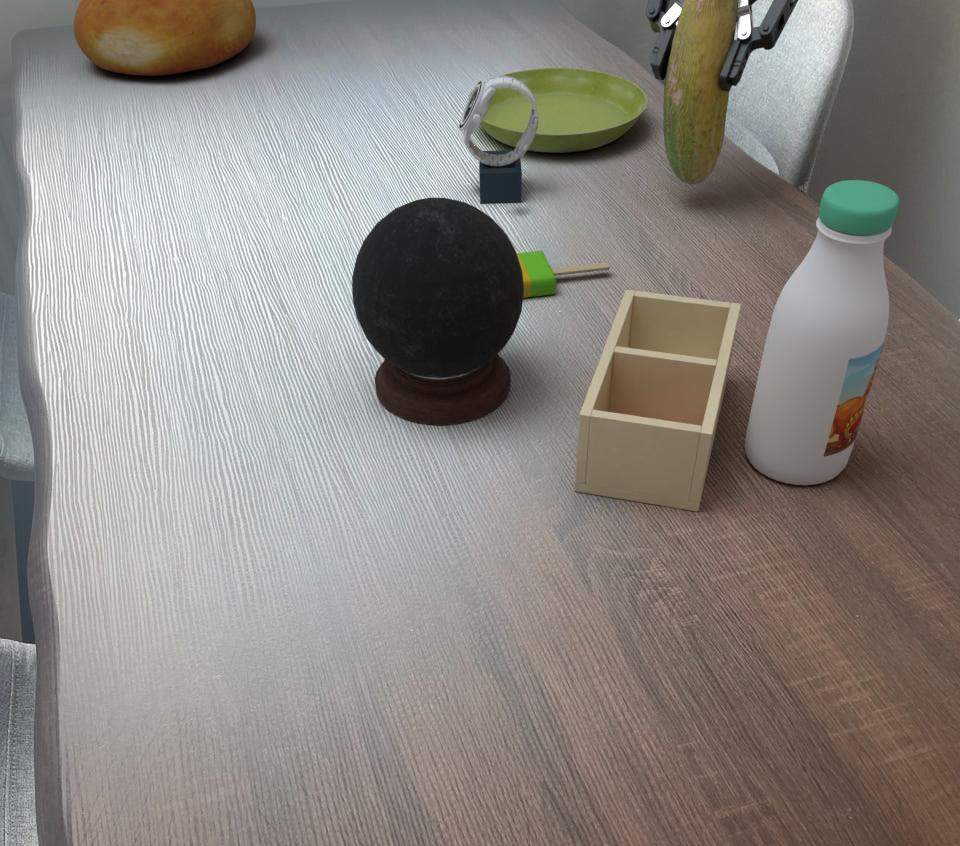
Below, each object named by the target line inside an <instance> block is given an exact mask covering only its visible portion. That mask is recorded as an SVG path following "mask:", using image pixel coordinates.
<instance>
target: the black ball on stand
mask: <svg viewBox="0 0 960 846" xmlns="http://www.w3.org/2000/svg"><path fill="white" fill-rule="evenodd" d="M517 253H518V252H517V251H516V248H515V247H514V245H513V243H512V241H511V240H510V238H509V236H508V234H507V233H506V232H505V231H504V229H503V228H502V227H501V226H500V225H499V224H498V223H497V222H496V221H495V220H494V218H492V217H491V216H489V215H488V214H487V213H486V212H484V211H483V210H481V209H479V208H477V207H476V206H474V205H472V204H469V203H467V202H465V201H461V200H458V199H457V200H456V199H452V198H449V197H426V198H420V199H419V198H418V199H415V200H413V201H410V202H407V203H404V204H403V205H400V206H398V207H395V208H394V209H392V211H390V212H389V213H388V214H387V215H385V216H384V217H382V219H380V220H379V221H377V222H376V224H375V225H374V226H373V227H372V228H371V230H370V232H369V233H368V234H367V235H366V237H365V238H364V240H363V242H362V243H361V246H360V248H359V251H358V253H357V255H356V259H355V262H354V267H353V272H352V277H351V294H352V304H353V307H354V312H355V318H356V319H357V322H358V324H359V326H360V328H361V330H362V332H363V333H364V337H365V338H366V340H367V341H368V343H369V344H370V345H371V347H372V348H373V349H374V350H375V351H376V353H378V354H379V356H381V357H382V359H384V360H383V361H382V363H380V365H379V367H378V368H377V370H376V372H375V377H374V387H375V396H376V397H377V400H378V402H379V403H380V404H381V405H382V406H383V408H385V410H386V411H388V412H390V413H391V414H393V415H394V416H396V417H398V418H401V419H403V420H404V421H408V422H412V423H416V424H422V425H428V426H449V425H459V424H463V423H467V422H472V421H474V420H477V419H481V418H483V417H485V416H487V415H488V414H491V413H492V412H494V411H495V410H496V409H498V408H499V407H500V406H501V405H502V404H503V403H504V402H505V401H506V399H507V398H508V395H509V393H510V391H511V382H512V381H511V379H512V378H511V377H512V374H511V371H510V367H509V366H508V364H507V363H506V361H505V360H504V359H503V358H502V357H501V356H500V353H501V351H502V350H504V348H505V347H506V346H507V344H508V342H509V340H511V338H512V336H513V334H514V332H515V330H516V329H517V326H518V322H519V319H520V317H521V315H522V311H523V304H524V303H523V302H524V298H523V293H524V284H523V273H522V269H521V266H520V263H519V260H518V256H517Z"/></svg>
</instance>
